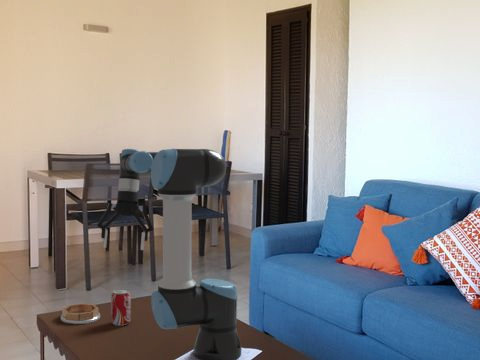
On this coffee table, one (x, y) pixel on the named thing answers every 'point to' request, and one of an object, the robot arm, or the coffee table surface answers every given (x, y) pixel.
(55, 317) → the coffee table surface
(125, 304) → the soda can
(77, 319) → the round wooden tray
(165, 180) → the robot arm
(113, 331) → the coffee table surface
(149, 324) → the coffee table surface
